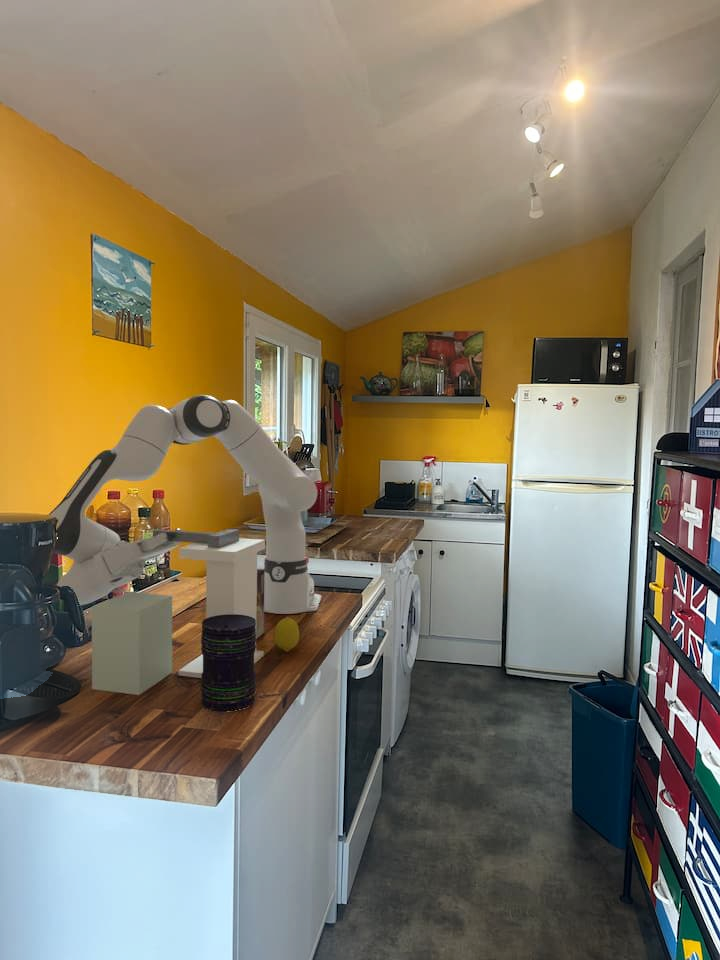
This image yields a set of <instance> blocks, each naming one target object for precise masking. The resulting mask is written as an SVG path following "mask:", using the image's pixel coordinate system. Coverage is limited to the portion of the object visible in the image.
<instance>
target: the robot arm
mask: <svg viewBox="0 0 720 960" xmlns="http://www.w3.org/2000/svg"><path fill="white" fill-rule="evenodd" d="M209 437H213V438H216V439H217V440H218V441H219V442H220V443H221V444H222V445H223V446H224V448H225V449H226V450H227V451H228V453H229V454H230V455H231V456H232V458H233V459H234V460H235V461H236V462H237V464H238V465H239V466H240V467H241V469H243V471H244V472H245V473H246V474H247V475H248V476H250V477H251V478H252V479H253V480H255V482H256V483H257V484H258V485H257V486H258V490H257V491H258V494H259V496H260V499H261V504H262V506H261V507H262V512H263V513H262V514H263V519H264V524H265V534H266V535H265V558H264V562H263V567H264V568H263V569H265V571H264V613H269V614H277V615H278V614H281V615H289V614H290V615H292V614H299V613H300V614H301V613H306V612H315V611H318V608H319V606H320V604H319V603H321V601H322V595H321V594H319V593H318V594H317V593H315V580H314V579H313V578H312V576H311V575H310V573H309V572H308V570H309V569H308V568H309V567H308V565H309V562H310V561H309V556H306V536H307V533H306V529H305V527H304V524H303V519H302V515H301V512H304V511H307V510H309V509H311V508H312V507H313V505H314V504H315V503H316V501H317V498H318V489H317V486H316V483H315V482H314V480H312V479H311V478H310V477H309V476H308V475H306V473H305V472H303V470H302V469H300V468H299V466H298V465H296V463H295V462H294V461H293V460H292V459H290V458H289V456H287V455H286V454H285V453H284V452H283V451H282V449H280V448H279V447H278V446H277V445H276V443H275V442H274V441H273V440H272V438H271V437H270V436H269V434H268V433H267V432H266V431H265V430H264V429H263V427H262V426H261V424H259V422H258V421H257V420H256V418H254V417H253V415H252V414H251V413H249V411H248V410H247V409H246V408H245V407H243V406H242V405H241V404H240V403H238V401H236V400H232V399H227V400H223V401H221V400H220V399H219V400H218V398H215V397H213V396H212V395H207V394H199V395H198V394H197V395H194V396H191V397H189V398H186V399H184V400H181V401H179V402H178V403H177V404H176V405H174V406H172V407H169V408H168V409H167V408H166V407H163V406H161V405H157V404H147V405H145V406H143V407H141V408H140V409H139V410H138V412H137V413H136V414H135V415H134V417H133V418H132V420H130V423H129V424H128V426H127V427H126V429H125V431H124V432H123V434H122V436H121V438H120V440H119V441H118V443H117V444H115V446H114V447H113V448H111V449H105V450H103V451H101V452H100V453H98V454H97V455H96V456H95V457H94V458H93V459H92V460H91V462H90V463H89V464H87V465H88V466H87V467H86V468H85V469H84V470H83V472H82V473H81V475H80V476H79V477H78V478H77V480H76V481H75V482H74V484H73V485H72V486H71V488H70V489H69V490H68V492H67V493H66V494H65V495H64V497H63V498H62V500H61V501H60V502H59V503H58V505H56V507H55V508H54V509H53V510H51V511H50V513H48V515H49V516H53V517H56V518H57V519H58V523H57V527H56V533H57V537H58V539H57V542H56V546H55V550H54V553H53V554H57V555H60V556H62V557H63V556H64V557H66V558H68V559H70V560H73V562H72V564H71V566H70V568H69V570H68V572H66V573H65V574H64V575H62V576H61V578H60V579H59V580H58V581H57V587H58V586H60V587H62V586H69V587H71V589H73V591H74V592H75V594H76V596H77V599H78V602H79V604H80V605H79V606H85V605H88V604H90V603H93V602H95V601H97V600H99V599H101V598H103V597H105V596H106V595H108V594H110V593H111V592H112V591H113V590H114V589H115V588H121V587H123V586H124V585H126V584H128V583H130V582H132V581H134V580H135V579H137V578H139V577H140V576H142V574H143V572H144V568H145V566H146V562H148V561H150V560H154V559H155V558H159V557H160V556H162V555H164V554H166V553H169V552H170V551H172V550H173V549H176V548H177V547H179V546H180V545H181V542H175V541H167V540H168V537H167V535H166V533H160V534H158V535H157V536H155V537H153V536H149V537H147V538H143V539H138V540H134V541H132V542H131V541H130V542H128V541H125V540H121V537H120V535H119V534H118V533H116V531H114V530H112V529H110V528H108V527H106V526H105V525H103V524H100V523H98V522H96V521H95V520H93V519H90V518H89V517H87V516H86V510H87V509H88V507H89V506H90V505H91V503H92V502H93V501H94V499H95V498H96V496H97V495H98V494H99V492H100V491H101V490H102V488H103V487H104V486H105V484H107V483H108V482H110V481H114V480H120V481H128V482H142V481H146V480H148V479H151V478H152V477H154V476H155V475H156V474H157V472H158V471H159V469H160V468H161V467H162V464H163V461H164V459H165V457H166V456H167V453H168V451H169V449H170V447H171V445H172V444H176V445H181V446H185V445H191V444H194V443H199V442H201V441H205V440H206V439H207V438H209ZM174 531H183V528H176V529H175V530H174Z"/></svg>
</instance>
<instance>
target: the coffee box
mask: <svg viewBox="0 0 720 960" xmlns="http://www.w3.org/2000/svg"><path fill="white" fill-rule="evenodd" d="M264 573H265V569H264V568H263V569H261V568H257V613H256V640H257V639H258V638H259V637H261V636H262V635H263V634H264V633H265V611H264Z"/></svg>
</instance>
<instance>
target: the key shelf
mask: <svg viewBox="0 0 720 960" xmlns="http://www.w3.org/2000/svg"><path fill="white" fill-rule="evenodd" d="M264 550H266V539H259V538H257V539H256V538H243V537H241V538H240V537H239V541H237V542H234V543H231V544H228V545H226V546H223V547H220V548H211V547H208V544H206V543H190V544H187V545H184V546H182V547H179V548H178V559H185V560H187V559H188V560H197V561H198V560H199V561H206V569H205V570H206V575H205V576H206V577H205V578H206V579H205V580H206V581H205V582H206V583H205V585H206V587H205V590H206V591H205V592H206V594H205V595H206V596H205V597H206V598H205V600H206V601H205V605H206V606H205V619H206V618H209V617H212V616H217V615H227V614H237V615H246V616H250V617H252V618H254V619H255V620H256V613H257V569H258V553H259V552H261V551H264ZM255 628H256V626H255ZM255 645H256V646H257V641H256V642H255ZM264 656H265V653H264V650H257V647H256V648H255V652H254V665H255V664H256V663H257V662H259V660H260V659H261V657H262V658H263V657H264ZM202 672H203V654H202V653H201V654H200V655H199V656H198V657H196V658H195V659H194V660H191V661H190V662H189V663H187V664H186V665H185V666H183V667H182V668H180V669H179V670H178V672H177V673H178V676H180V677H181V676H182V677H190V678H199V679H201V678H202Z"/></svg>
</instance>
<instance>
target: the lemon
mask: <svg viewBox="0 0 720 960" xmlns="http://www.w3.org/2000/svg"><path fill="white" fill-rule="evenodd" d="M299 640H300V629H299V625H298V623H297V622H296V621H295V620H293V618H290V617H289V616H286V617H285V618H282V619H281V620H279V621H278V623H277V624H276V625H275V629H274V641H275V644H276V646H277V647H278V648H280V649H282V650H283V651H284V652H286V653H289V651H291V650H292V649H294V648H295V647H296V646H297V645H298V642H299Z"/></svg>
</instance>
